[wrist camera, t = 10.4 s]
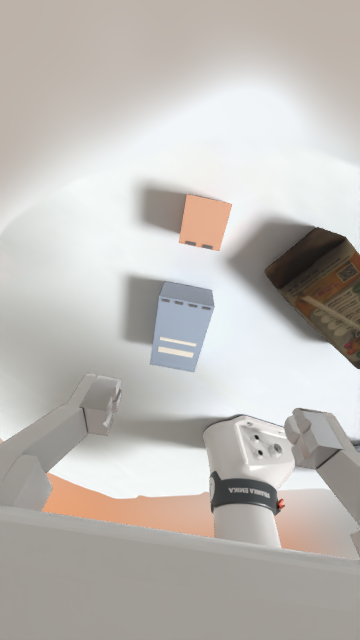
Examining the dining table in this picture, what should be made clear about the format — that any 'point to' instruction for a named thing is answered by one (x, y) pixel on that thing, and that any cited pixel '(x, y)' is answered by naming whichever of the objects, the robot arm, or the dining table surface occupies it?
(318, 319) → the beverage carton
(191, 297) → the double-striped slate block
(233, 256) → the dining table surface
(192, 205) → the stub
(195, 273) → the dining table surface
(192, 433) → the dining table surface
